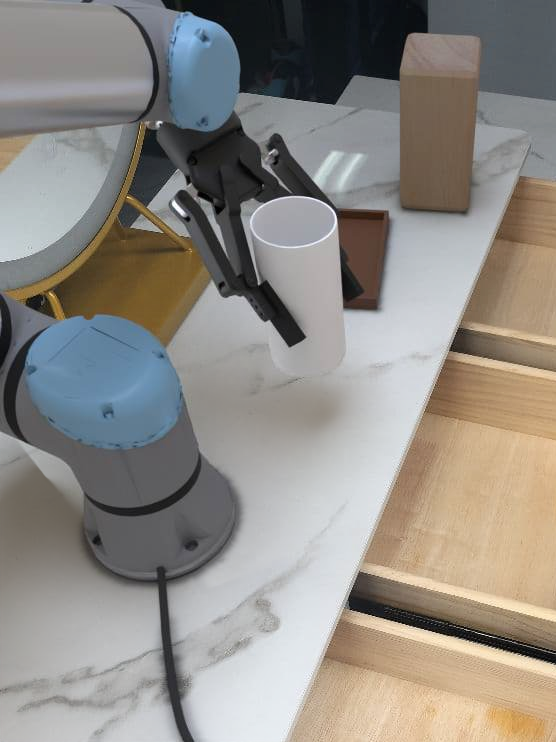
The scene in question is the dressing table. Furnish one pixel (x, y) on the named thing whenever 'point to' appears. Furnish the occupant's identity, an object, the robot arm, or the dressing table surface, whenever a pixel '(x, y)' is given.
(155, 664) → the dressing table surface
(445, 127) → the wooden block
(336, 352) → the cup
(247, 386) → the dressing table surface
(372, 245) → the tray
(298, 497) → the dressing table surface
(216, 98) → the robot arm
